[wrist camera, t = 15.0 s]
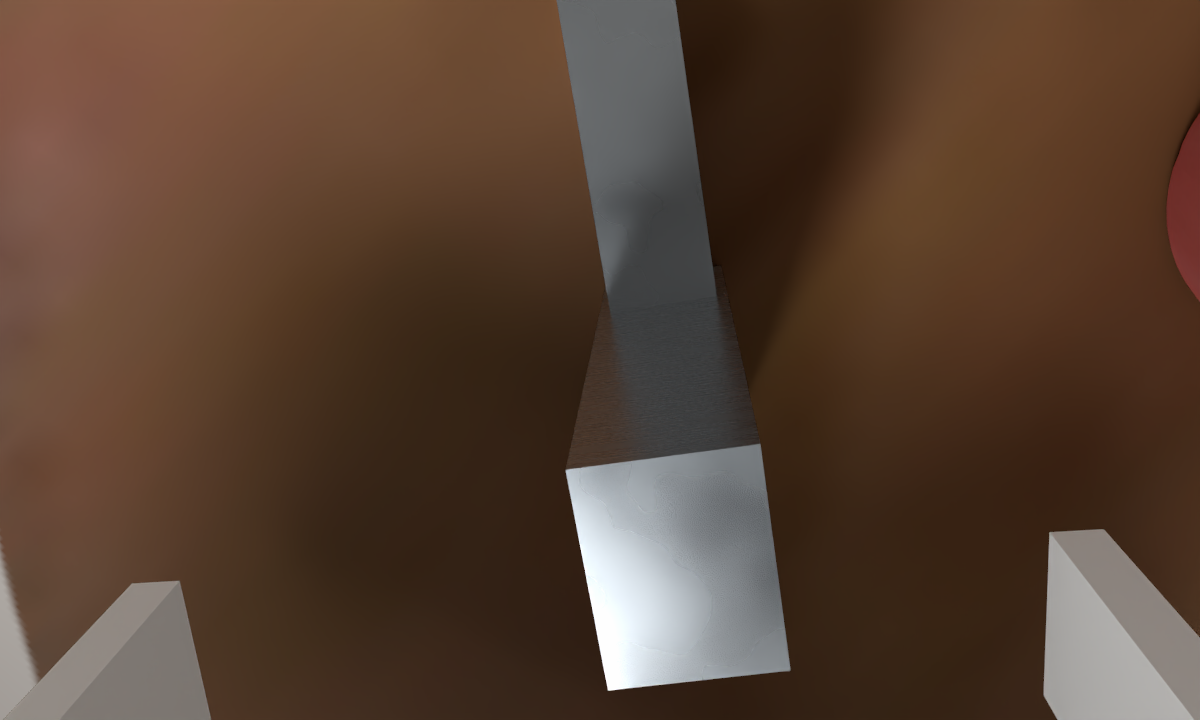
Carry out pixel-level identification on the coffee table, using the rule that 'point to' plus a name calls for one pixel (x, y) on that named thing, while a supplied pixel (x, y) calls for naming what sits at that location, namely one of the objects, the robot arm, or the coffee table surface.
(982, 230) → the coffee table surface
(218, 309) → the coffee table surface
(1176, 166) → the flower pot
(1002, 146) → the coffee table surface
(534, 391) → the coffee table surface
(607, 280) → the crook
